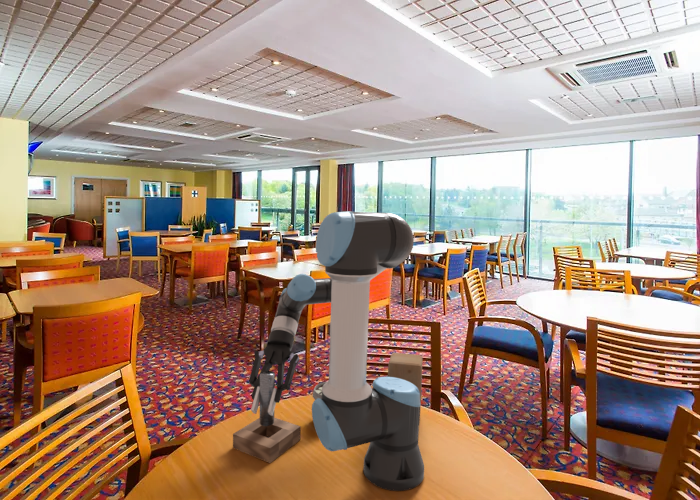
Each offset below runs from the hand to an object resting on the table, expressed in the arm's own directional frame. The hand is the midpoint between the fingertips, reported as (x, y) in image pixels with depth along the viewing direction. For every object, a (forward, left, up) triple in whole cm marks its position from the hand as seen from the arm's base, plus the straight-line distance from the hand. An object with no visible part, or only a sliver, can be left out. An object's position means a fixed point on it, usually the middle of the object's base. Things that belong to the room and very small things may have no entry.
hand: (261, 412), depth 113 cm
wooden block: (-26, -36, -11) cm, 46 cm away
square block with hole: (+1, -3, -11) cm, 11 cm away
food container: (-4, -23, -11) cm, 26 cm away
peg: (+1, -4, -5) cm, 6 cm away
